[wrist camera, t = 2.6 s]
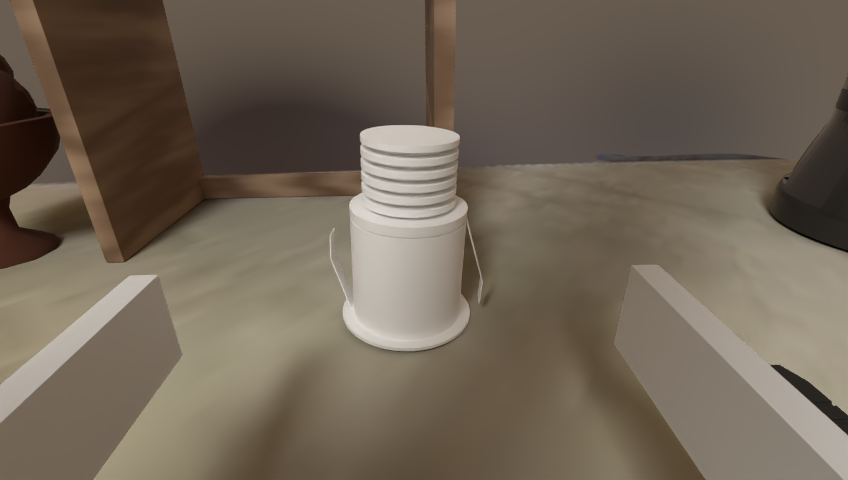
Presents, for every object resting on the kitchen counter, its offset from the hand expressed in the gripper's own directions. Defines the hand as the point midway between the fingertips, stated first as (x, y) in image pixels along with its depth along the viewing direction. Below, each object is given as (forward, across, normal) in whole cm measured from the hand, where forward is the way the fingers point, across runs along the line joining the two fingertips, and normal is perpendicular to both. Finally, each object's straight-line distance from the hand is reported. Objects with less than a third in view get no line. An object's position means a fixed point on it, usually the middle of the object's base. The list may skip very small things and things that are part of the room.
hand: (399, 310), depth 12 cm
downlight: (+10, 0, -7) cm, 12 cm away
